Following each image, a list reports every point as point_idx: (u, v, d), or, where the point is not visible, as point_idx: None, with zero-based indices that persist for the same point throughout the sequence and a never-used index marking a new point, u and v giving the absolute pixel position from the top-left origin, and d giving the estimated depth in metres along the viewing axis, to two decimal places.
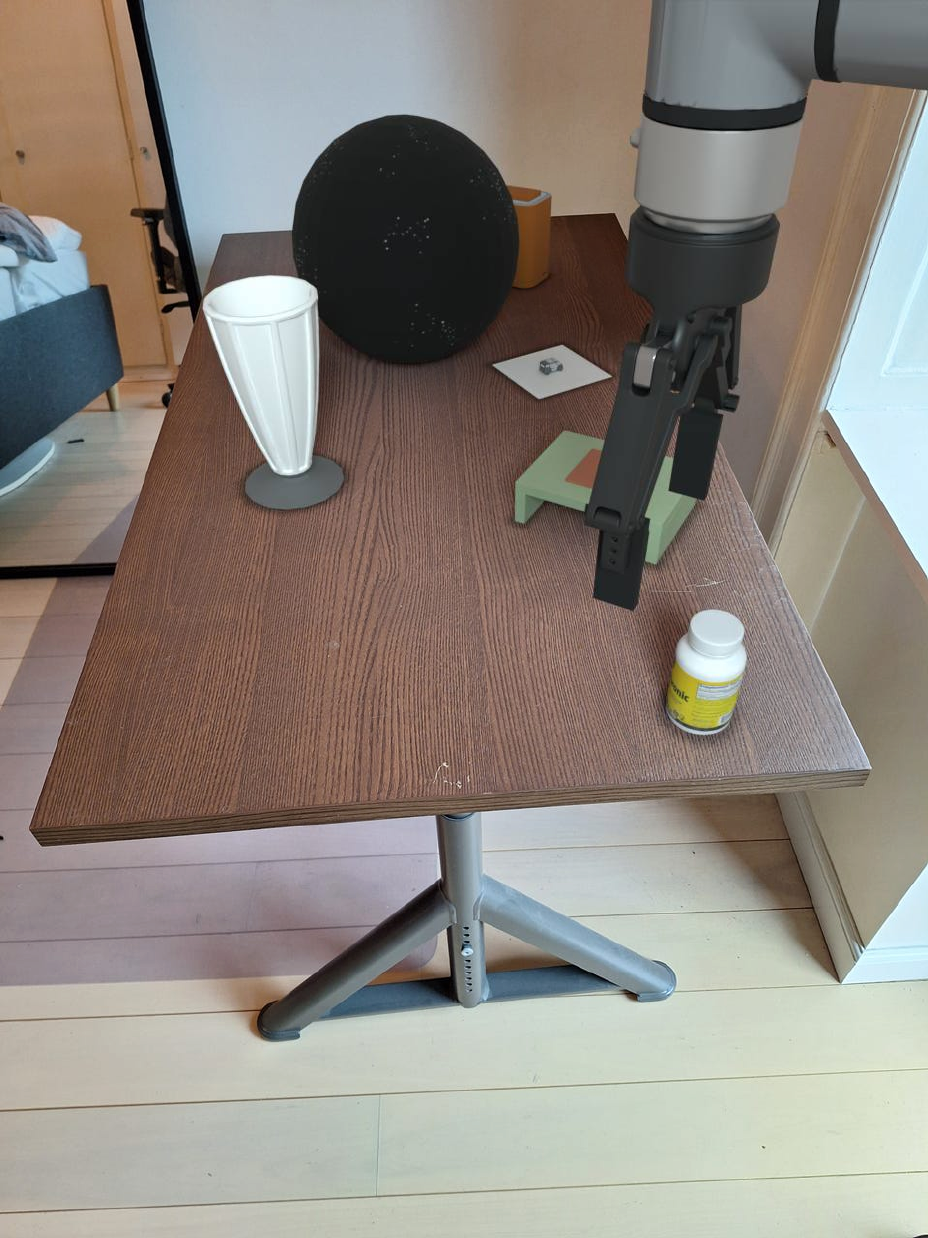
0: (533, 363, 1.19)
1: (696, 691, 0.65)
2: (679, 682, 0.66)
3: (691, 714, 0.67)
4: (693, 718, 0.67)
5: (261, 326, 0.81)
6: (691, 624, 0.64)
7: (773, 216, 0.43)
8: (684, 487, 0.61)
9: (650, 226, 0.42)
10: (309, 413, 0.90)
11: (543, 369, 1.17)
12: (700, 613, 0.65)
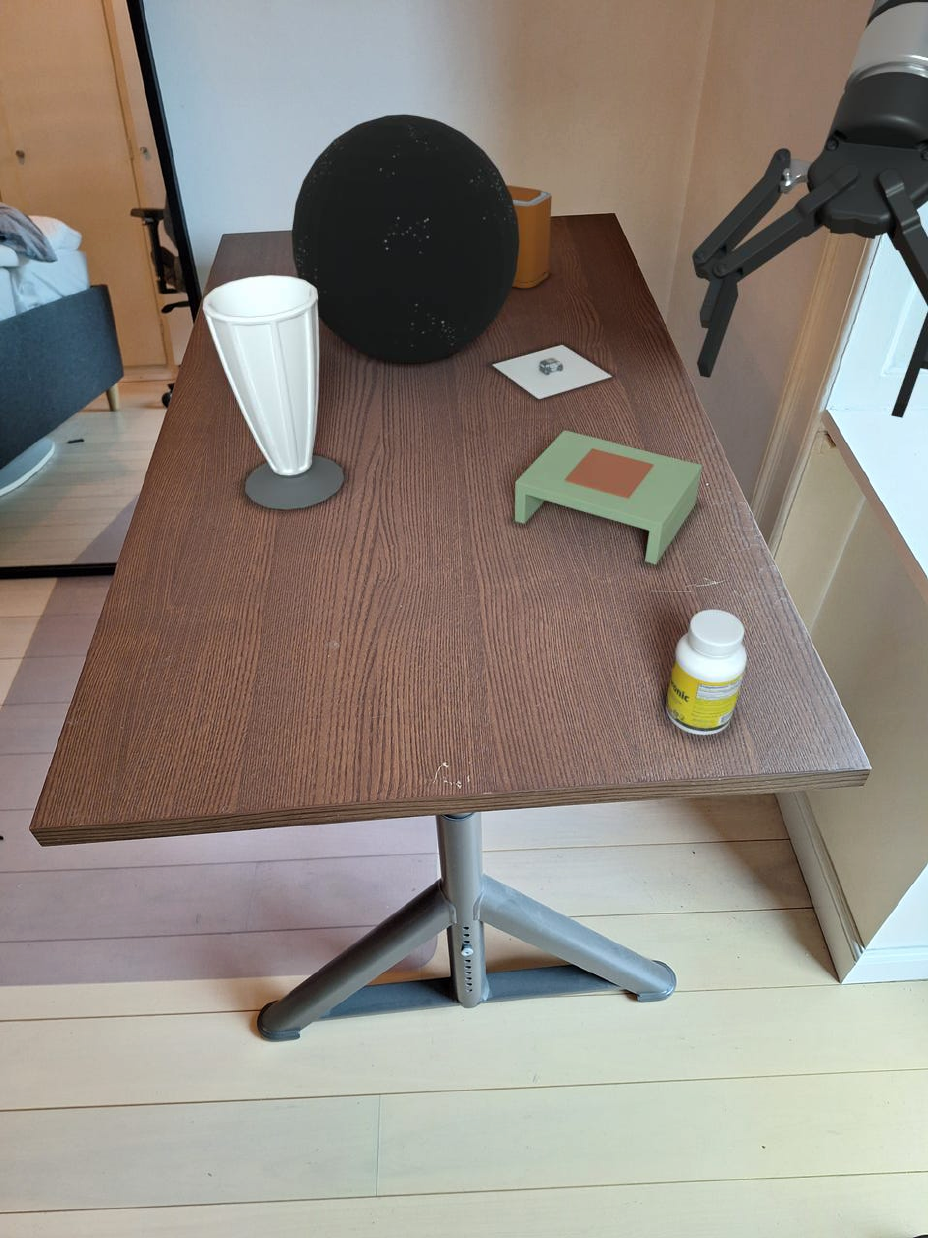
0: (533, 363, 1.19)
1: (696, 691, 0.65)
2: (679, 682, 0.66)
3: (691, 714, 0.67)
4: (693, 718, 0.67)
5: (261, 326, 0.81)
6: (691, 624, 0.64)
7: (918, 76, 0.57)
8: None
9: None
10: (309, 413, 0.90)
11: (543, 369, 1.17)
12: (700, 613, 0.65)
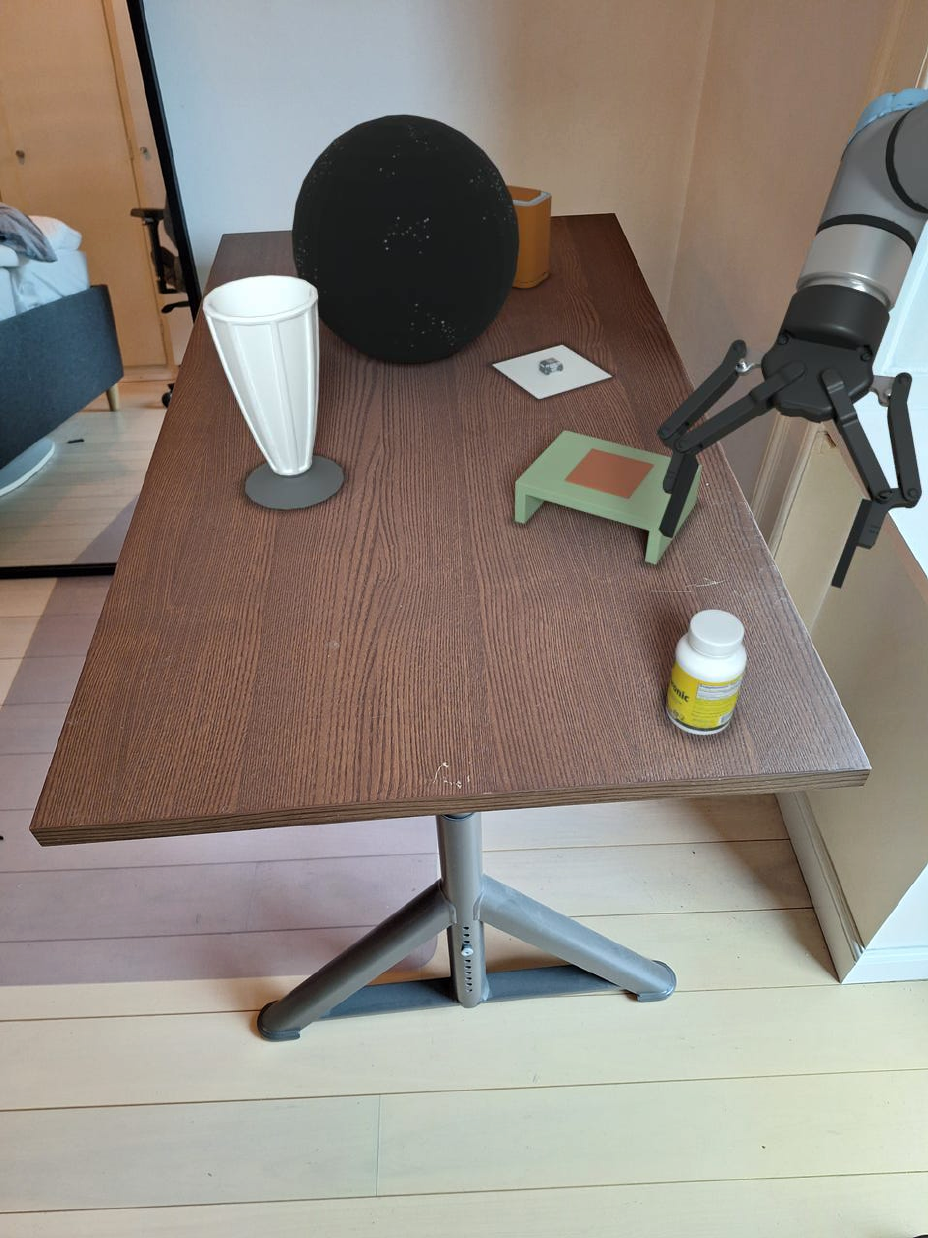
0: (533, 363, 1.19)
1: (696, 691, 0.65)
2: (679, 682, 0.66)
3: (691, 714, 0.67)
4: (693, 718, 0.67)
5: (261, 326, 0.81)
6: (691, 624, 0.64)
7: (857, 289, 0.63)
8: None
9: None
10: (309, 413, 0.90)
11: (543, 369, 1.17)
12: (700, 613, 0.65)
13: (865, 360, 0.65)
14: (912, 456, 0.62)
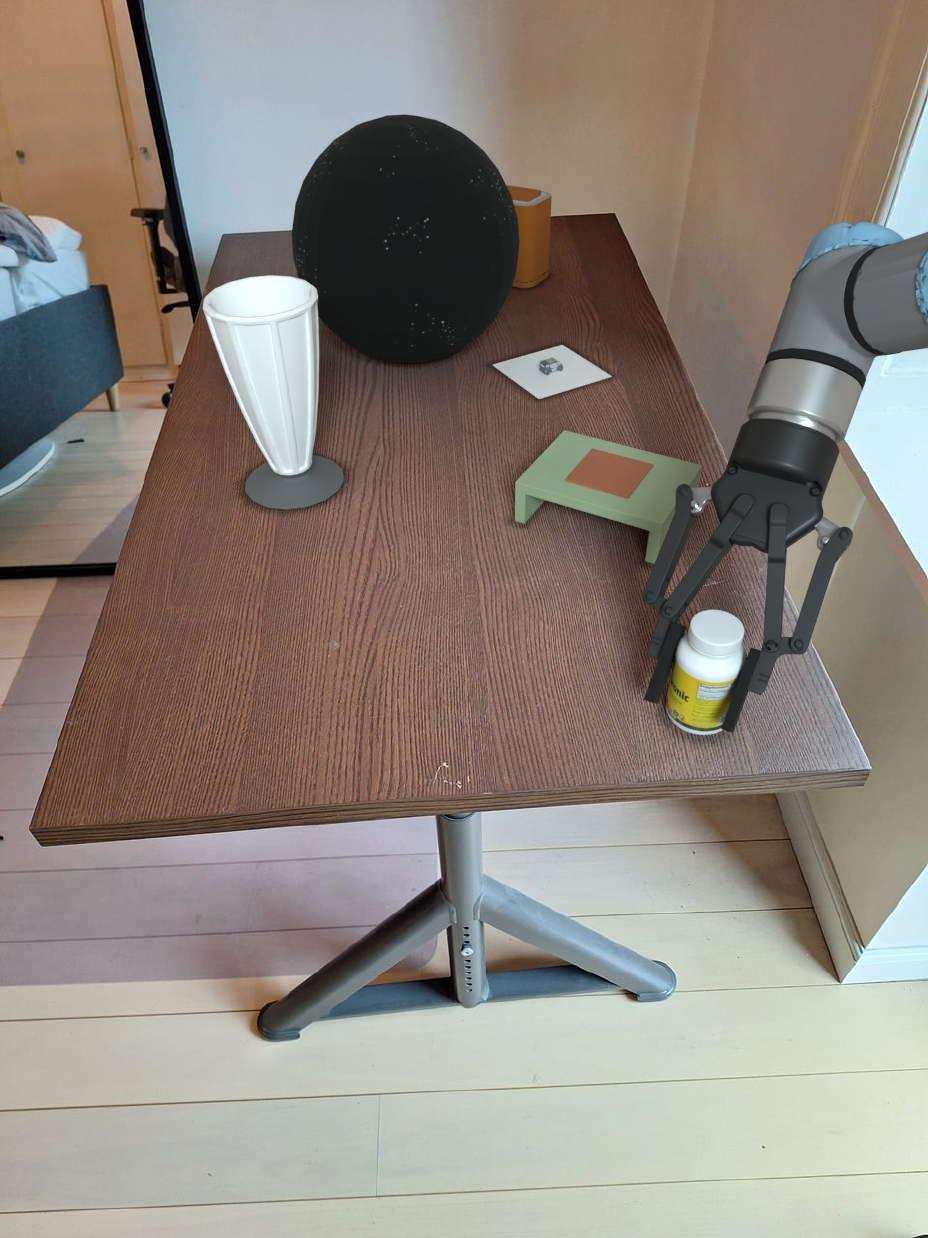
0: (533, 363, 1.19)
1: (696, 691, 0.65)
2: (679, 682, 0.66)
3: (691, 714, 0.67)
4: (693, 718, 0.67)
5: (261, 326, 0.81)
6: (691, 624, 0.64)
7: (804, 426, 0.62)
8: None
9: None
10: (309, 413, 0.90)
11: (543, 369, 1.17)
12: (701, 613, 0.65)
13: (814, 495, 0.63)
14: (815, 610, 0.62)
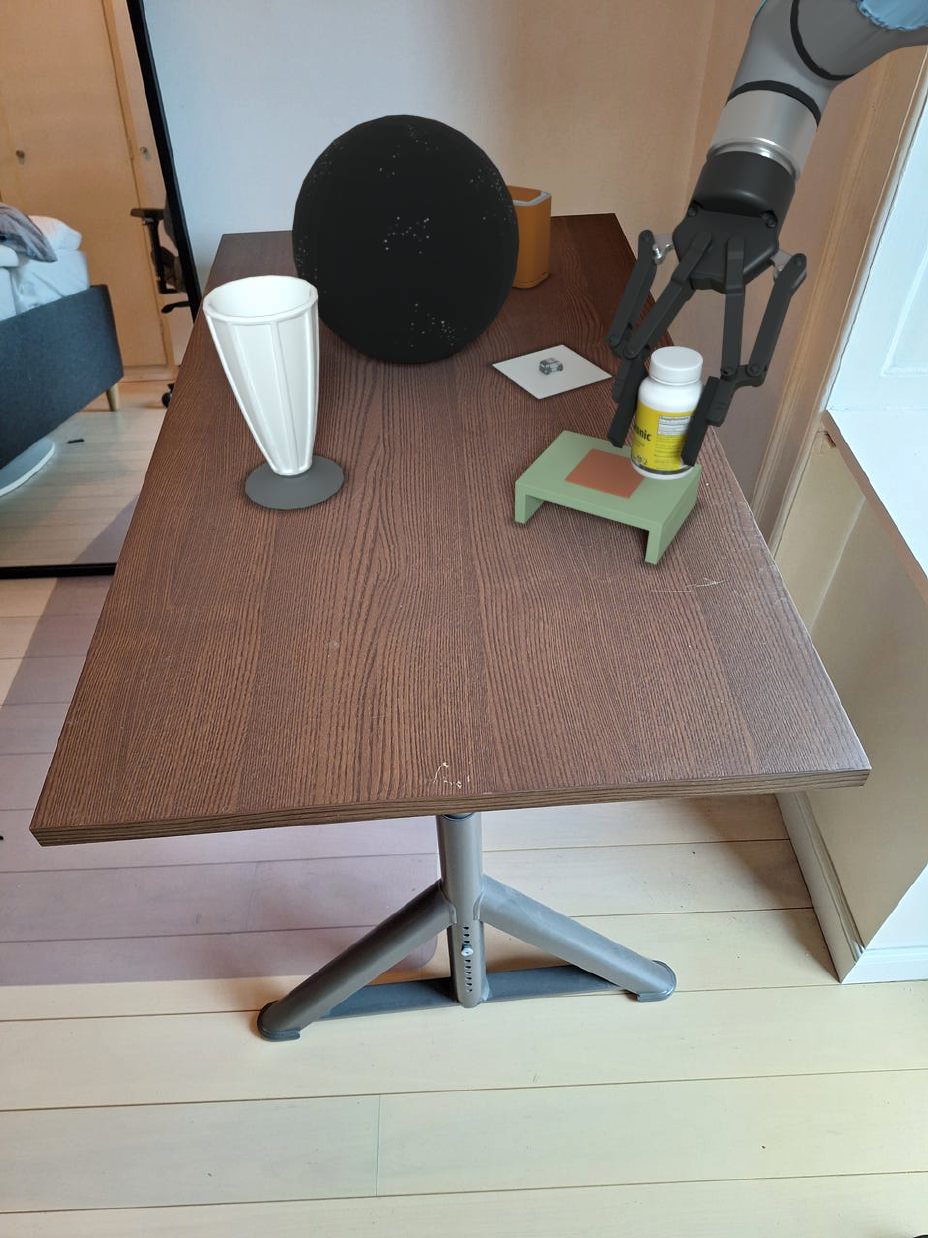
0: (533, 363, 1.19)
1: (658, 426, 0.67)
2: (641, 421, 0.68)
3: (653, 455, 0.69)
4: (655, 459, 0.69)
5: (261, 326, 0.81)
6: (652, 356, 0.66)
7: (760, 155, 0.64)
8: None
9: None
10: (309, 413, 0.90)
11: (543, 369, 1.17)
12: (661, 349, 0.67)
13: (770, 227, 0.65)
14: (770, 334, 0.64)
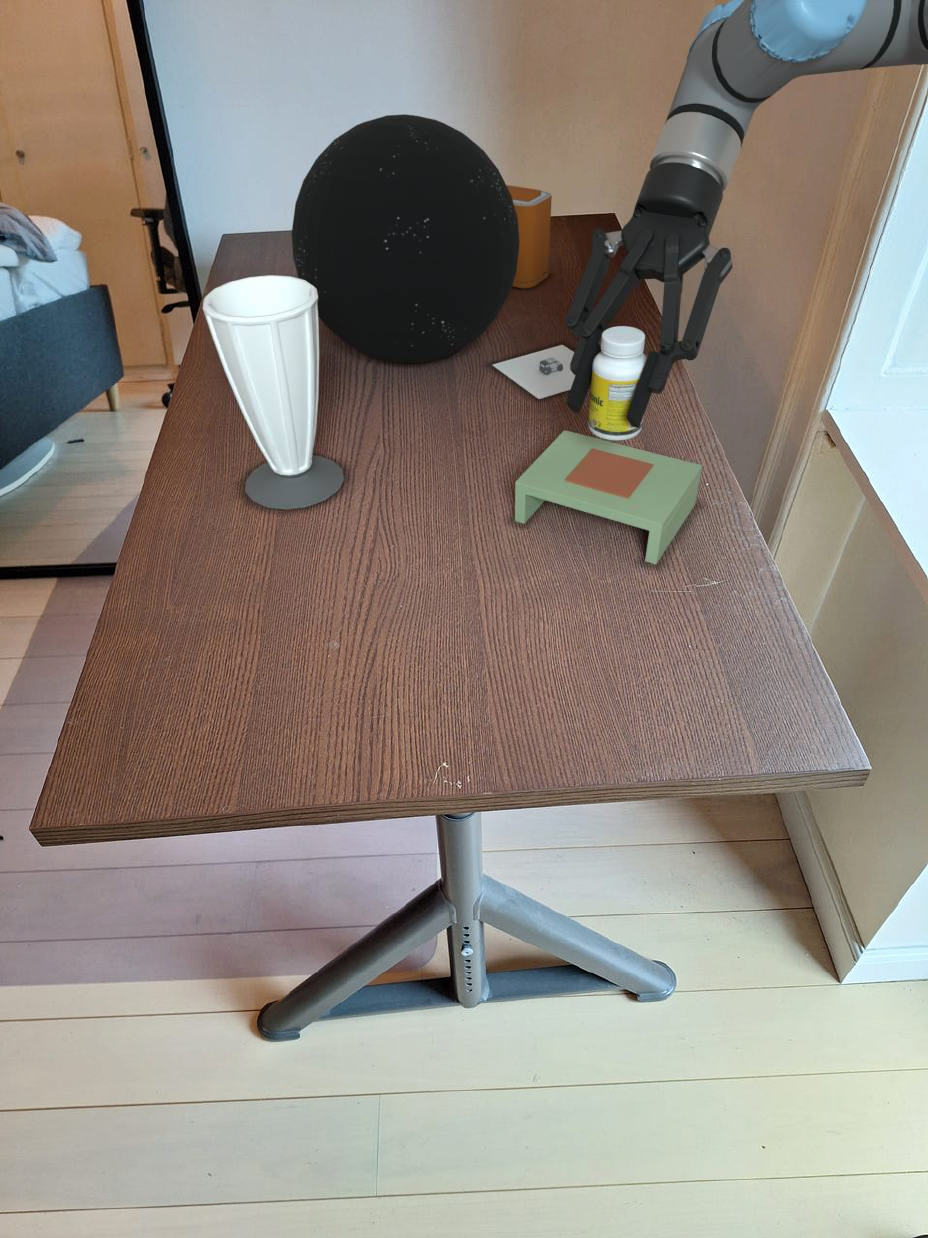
0: (533, 363, 1.19)
1: (608, 393, 0.80)
2: (595, 389, 0.81)
3: (606, 418, 0.82)
4: (607, 421, 0.82)
5: (261, 326, 0.81)
6: (602, 334, 0.79)
7: (691, 165, 0.77)
8: None
9: None
10: (309, 413, 0.90)
11: (543, 369, 1.17)
12: (611, 328, 0.80)
13: (701, 226, 0.78)
14: (700, 315, 0.77)
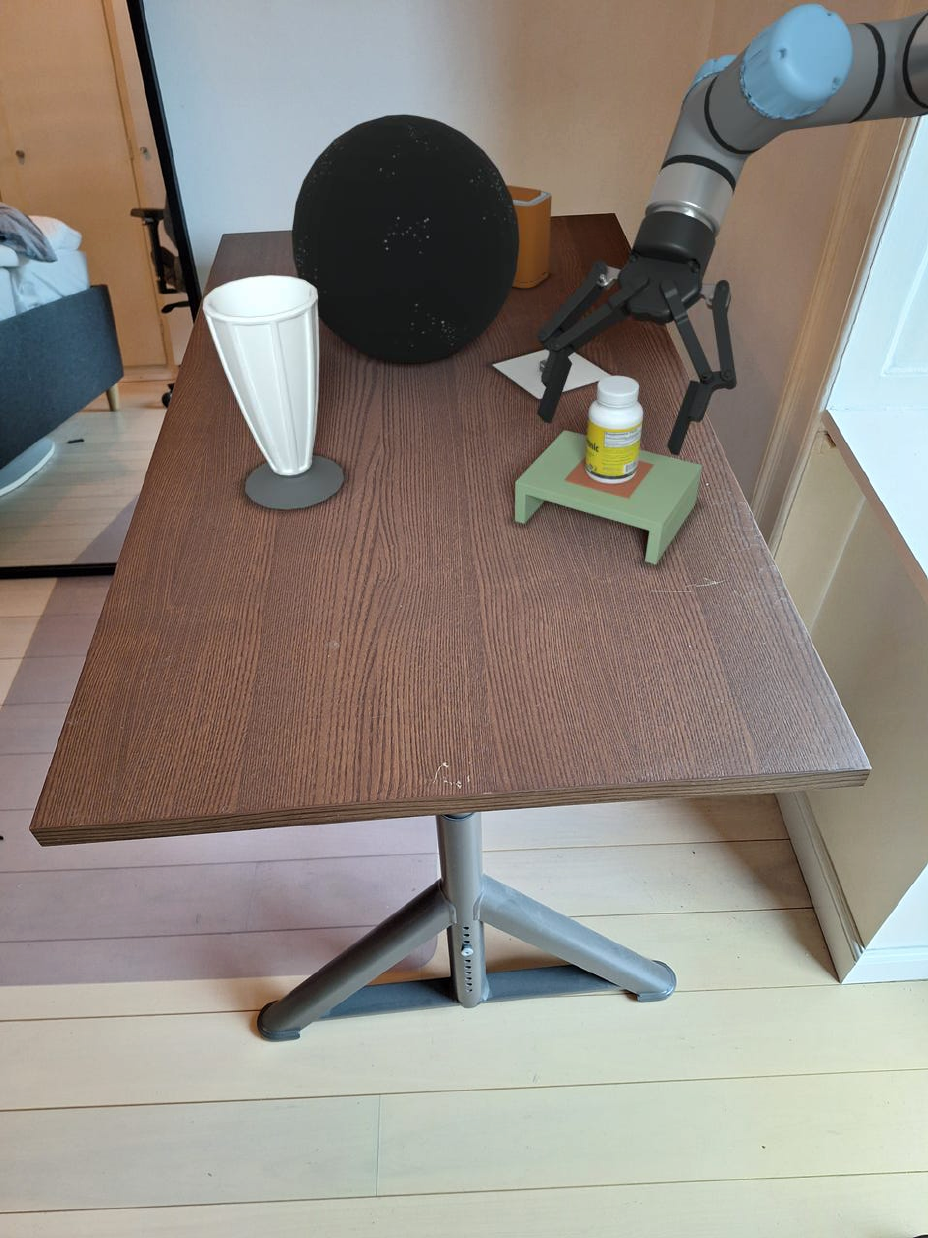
0: (533, 363, 1.19)
1: (604, 439, 0.83)
2: (591, 436, 0.85)
3: (601, 463, 0.85)
4: (603, 466, 0.85)
5: (261, 326, 0.81)
6: (598, 384, 0.82)
7: (685, 214, 0.80)
8: None
9: None
10: (309, 413, 0.90)
11: (543, 369, 1.16)
12: (606, 378, 0.83)
13: (695, 272, 0.81)
14: (728, 345, 0.79)
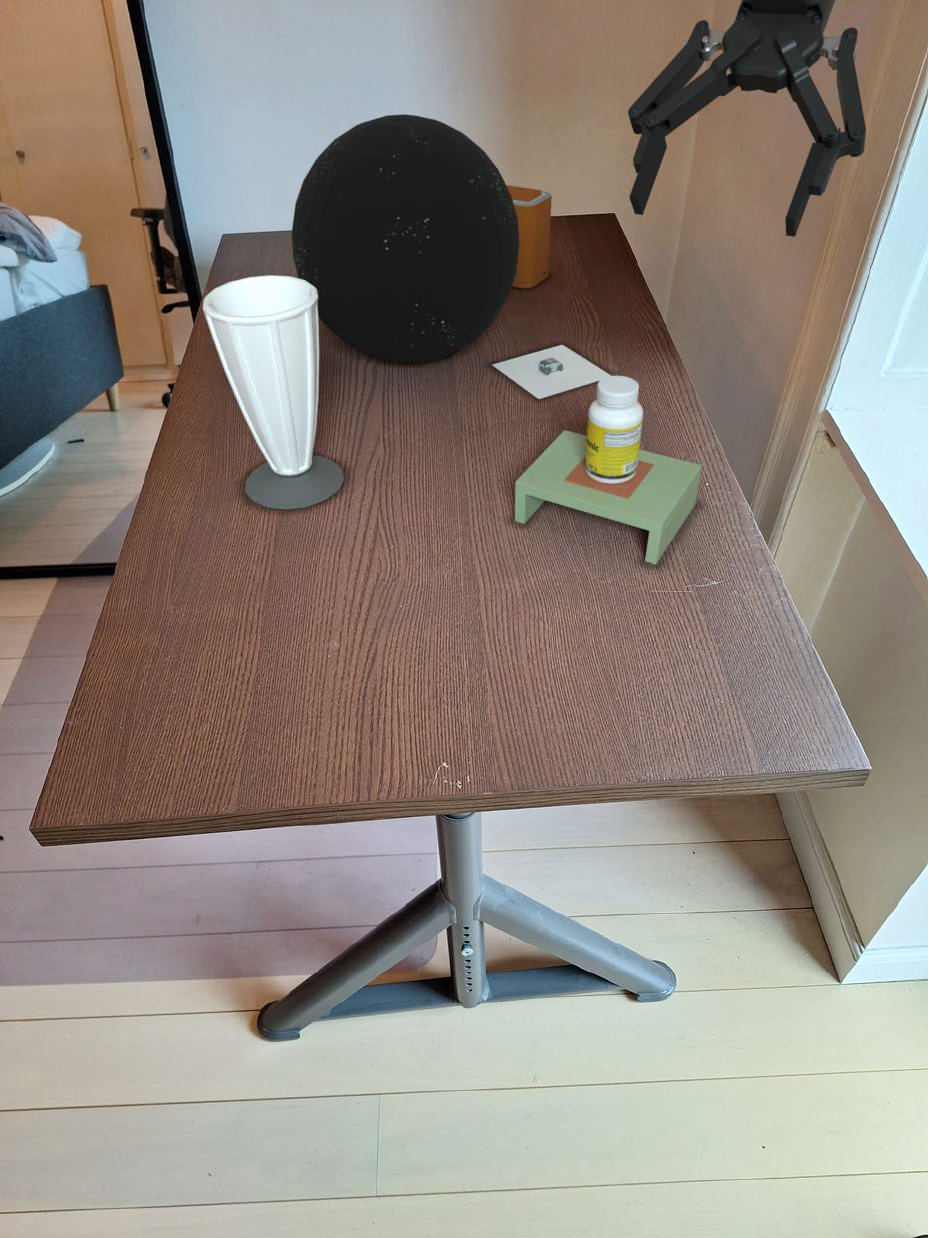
0: (533, 363, 1.19)
1: (604, 439, 0.83)
2: (591, 436, 0.85)
3: (601, 463, 0.85)
4: (603, 466, 0.85)
5: (261, 326, 0.81)
6: (598, 384, 0.82)
7: None
8: None
9: None
10: (309, 413, 0.90)
11: (543, 369, 1.16)
12: (606, 378, 0.83)
13: (816, 23, 0.71)
14: (857, 99, 0.69)
